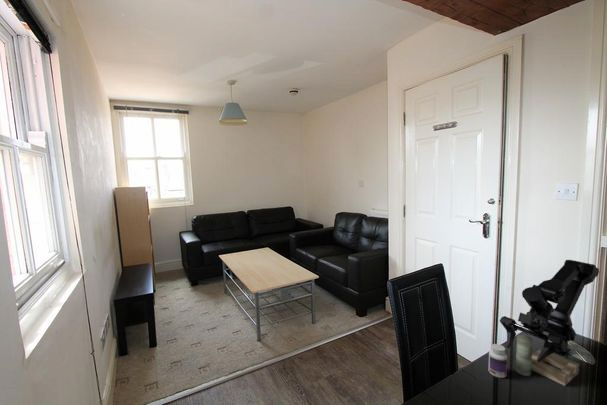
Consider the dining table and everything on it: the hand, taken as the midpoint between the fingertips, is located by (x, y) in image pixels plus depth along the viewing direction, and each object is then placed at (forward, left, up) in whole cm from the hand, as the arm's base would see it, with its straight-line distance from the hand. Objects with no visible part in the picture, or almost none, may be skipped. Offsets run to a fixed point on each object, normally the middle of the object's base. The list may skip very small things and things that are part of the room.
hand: (522, 354), depth 103 cm
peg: (-1, 0, -7) cm, 7 cm away
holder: (-10, +5, -7) cm, 13 cm away
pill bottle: (+7, -5, -7) cm, 11 cm away
